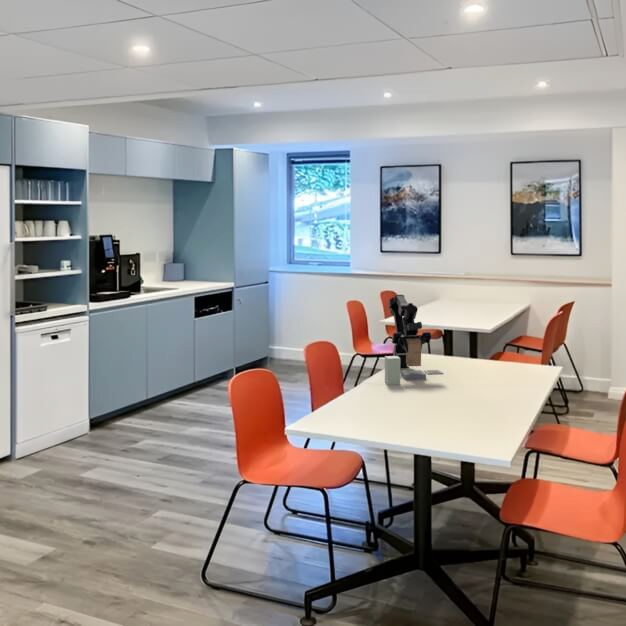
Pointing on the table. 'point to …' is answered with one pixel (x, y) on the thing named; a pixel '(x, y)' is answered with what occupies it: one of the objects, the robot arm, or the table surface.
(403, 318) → the robot arm
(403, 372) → the slate block
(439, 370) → the tile
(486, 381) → the table surface
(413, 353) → the walnut pillar
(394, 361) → the sage pillar
